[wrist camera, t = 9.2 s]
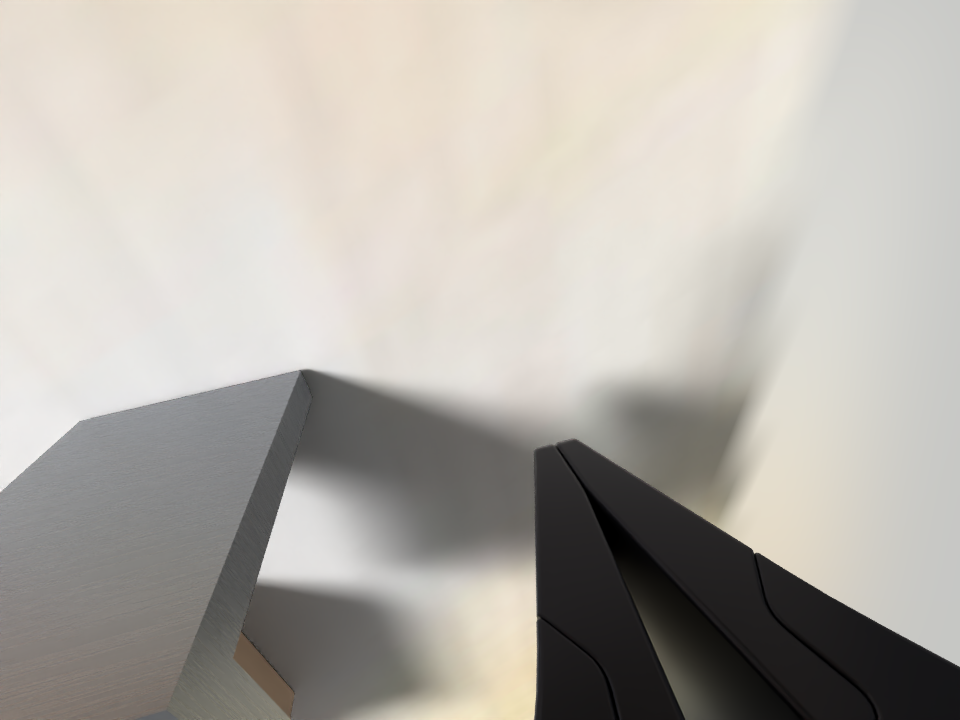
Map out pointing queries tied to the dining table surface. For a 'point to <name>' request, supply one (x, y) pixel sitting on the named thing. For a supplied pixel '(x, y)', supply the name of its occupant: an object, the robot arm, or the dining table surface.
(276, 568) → the dining table surface
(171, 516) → the bracket
